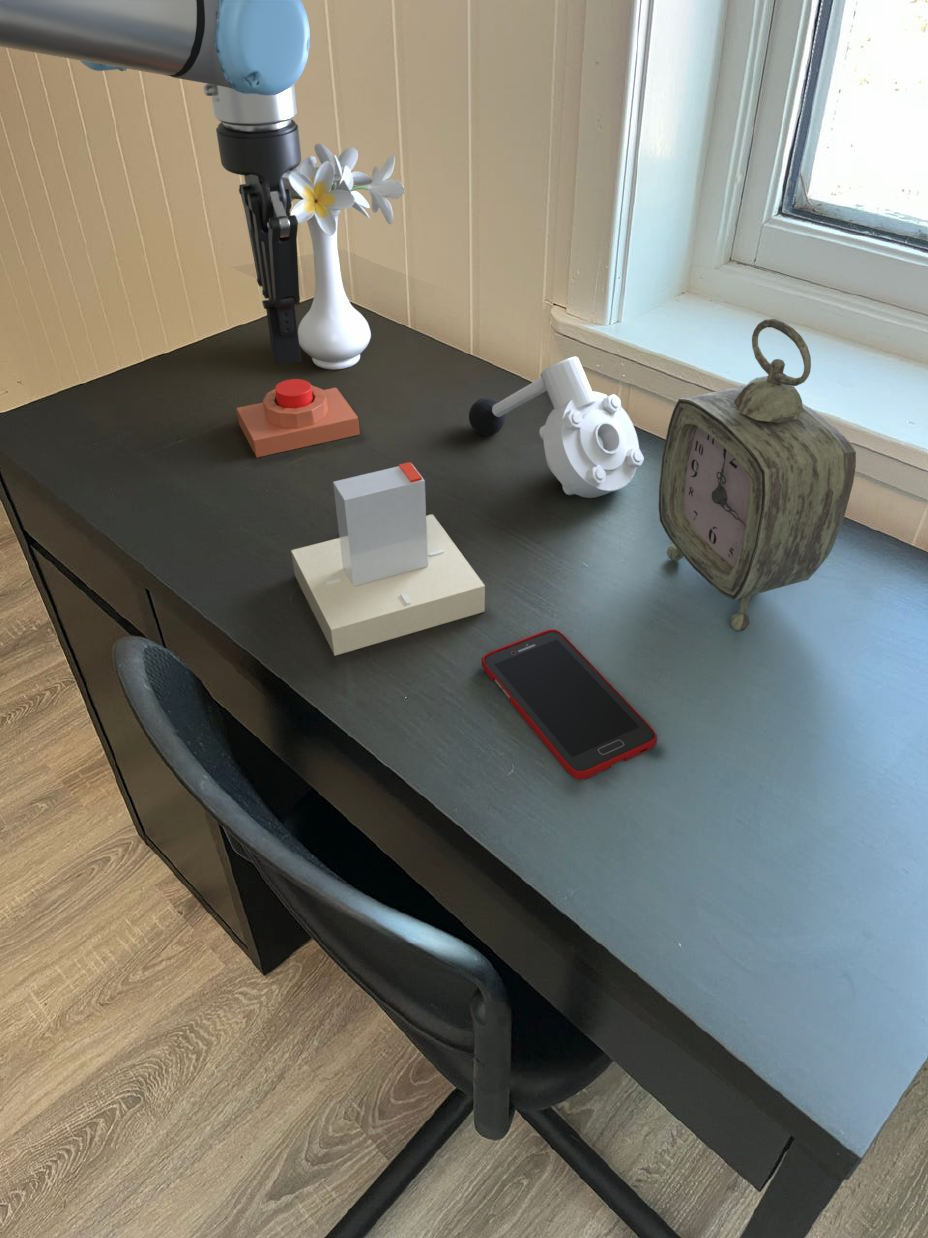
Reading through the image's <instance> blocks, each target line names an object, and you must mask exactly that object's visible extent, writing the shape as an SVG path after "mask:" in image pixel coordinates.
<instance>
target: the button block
mask: <svg viewBox="0 0 928 1238" xmlns="http://www.w3.org/2000/svg"><path fill="white" fill-rule="evenodd" d="M311 388H312V396H313V401H312V403H311V404H309V405H307V406H305V407H300V408H283V407H280V406H279V405H278V404H277V398H276V392H275V388H273V389H272V390H270V391H268V392H267V393H266V394H265V396H264V398H263V400H262V402H259V403H254V404H248V405H245V406H239V407H236V414H237V419H238V425H239V427H240V429H241V431H242V433H243V435H244V437H245V438H246V440H247V442H248V444H249V446H250V448H251V450H252V452H253V454H254V455H255V457H256V458H261V457H266V456H270V455H275V454H279V453H284V452H289V451H292V450H296V449H297V450H298V449H301V448H306V447H311V446H315V445H320V444H324V443H329V442H333V441H337V440H338V441H339V440H341V439H347V438H352V437H355V436H360V434H361V433H360V424H359V417H358V415H357V414H356V413H355V411H354V410H353V409H352V407H351V406H350V404H349V403H348V402H347V400H346V398H344V396H343V394H342V393H341V392H340V391H339V389H338V388H337V387H331V388H327V389H322V388H320V387H317V386H314V385H312V384H311Z"/></svg>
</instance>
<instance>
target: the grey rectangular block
mask: <svg viewBox="0 0 928 1238" xmlns="http://www.w3.org/2000/svg"><path fill="white" fill-rule="evenodd" d="M425 482H426V480H425V479H424V477H423V476H422V475H421V473H420V472H419V471H418V469H417V468H416V467H415V466H414V464H413V463H412V462H411V461H408V462H404V463H399V464H398V466H394V467H389V468H385V469H381V470H376V471H372V472H368V473H364V474H360V475H356V476H352V477H347V478H343V479H338V480H335V481H332V484H333V494H334V502H335V509H336V510H335V511H336V521H337V526H338V527H337V529H338V535H339V536H338V538H340V546H341V555H342V563H343V568H344V570H345V572H346V574H347V575H348V577H349V579H350V581H351V583H352V584H353V586H358V585H361V584H365V583H369V582H372V581H376V580H380V579H383V578H387V577H391V576H394V575H398V574H402V573H405V572H409V571H413V570H416V569H420V568H423V567H427V566H428V550H427V525H426V516H427V506H426V505H427V504H426V501H427V500H426V483H425Z"/></svg>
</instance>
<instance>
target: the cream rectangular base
mask: <svg viewBox="0 0 928 1238" xmlns="http://www.w3.org/2000/svg"><path fill="white" fill-rule="evenodd" d="M426 525H427V550H428V566H427V567H423V568H420V569H416V570H413V571H409V572H405V573H402V574H398V575H394V576H391V577H387V578H383V579H380V580H376V581H372V582H369V583H365V584H361V585H358V586H353V584H352V583H351V581H350V579H349V577H348V575H347V574H346V572H345V570H344V568H343V563H342V555H341V546H340V537H337V538H333V539H330V540H329V539H328V540H326V541H322V542H318V543H314V544H310V545H305V546H303V547H298V548H293V549H291V550H290V554H291V559H292V566H293V572H294V577H295V579H296V581H297V583H298V585H299V587H300V589H301V591H302V593H303V595H304V597H305V599H306V602H307V603H308V605H309V607H310V609H311V611H312V613H313V615H314V617H315V619H316V621H317V624H318V626H319V627H320V629H321V631H322V633H323V635H324V637H325V639H326V641H327V644H328V645H329V647H330V649H331V652H332V653H333V655H334V656H335V657H336V656H340V655H342V654H346V653H350V652H353V651H356V650H359V649H363V648H366V647H370V646H373V645H376V644H380V643H384V642H386V641H390V640H393V639H397V638H401V637H403V636H407V635H411V634H414V633H417V632H420V631H424V630H427V629H431V628H434V627H438V626H440V625H445V624H448V623H450V622H454V621H458V620H462V619H465V618H468V617H471V616H475V615H478V614H481V613H485V611H486V610H485V609H486V585H485V583H484V582H483V581H482V579H481V578H480V576H479V575H478V574H477V573H476V572H475V570H474V568H473V567H472V565H471V564H470V563H469V562H468V560H467V558H465V557H464V555H463V553H462V552H461V551H460V550H459V548H458V547H457V545H456V544H455V543H454V541H453V539H451V537H450V536H449V534H448V533H447V532H446V530H445V528H444V527H443V526H442V525H441V524H440V522H439V520H438V519H437V518H436V516H435V515H434V513H431V514H428V515H427V514H426Z"/></svg>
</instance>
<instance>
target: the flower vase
mask: <svg viewBox="0 0 928 1238" xmlns="http://www.w3.org/2000/svg"><path fill="white" fill-rule="evenodd" d="M314 153H315V155H316V156H315V155H310V156H307V157H306V158H304V159H303V160H301V162H300V164H299V166H298V167H296V168H295V169H293V170H291V171H290V170H289V171H287V172H286V173H284V175H283V176H282V177H283V178H282V180H283V182H284V187H285V189H289V191H290V196H291V204H293V202H294V201H295V200H299V201H297V202H296V204H295V205H293V206H292V207H291V210H290V216H291V215H295V216H296V218H297V220H298V224H302V223H305V222H306V223H307V226H308V231H309V235H310V239H311V244H312V250H313V254H312V255H313V266H314V295H313V298H312V303H311V306H310V308H309V310H308V311H307V312H306V314H304V316H303V318H302V319H301V320H300V322H299V324H298V325H297V330H298V339H299V347H300V349H301V350H302V351H303V352H304V353H305V354H306V355H308V356H309V357H311V360H312V362H313V364H314V365H316V366H317V367H318V368H321V369H324V370H325V369H326V370H343V369H349V368H351V367H353V366H355V365H356V364H357V363H358V362H359V361H360V359H361V354H362V353H363V352H364V351H365V350H366V349H367V347H368V345H369V343H370V342H371V339H372V333H371V328H370V325H369V322H368V321H367V319H366V318H365V317H364V316H363V314H362V313H361V312H360V311H359V310H358V309H356V308H355V307H354V306H353V305H352V304H351V302H350V300H349V298H348V296H347V294H346V290H345V287H344V283H343V279H342V273H341V266H340V258H339V257H340V256H339V249H338V225H339V224H338V223H339V222H338V221H339V217H340V214H341V212H342V211H341V210H346V209H349V208H353V209H355V210H356V211H358V212H360V213H361V214H362V215H364V216H365V217H366V218H368V219H369V220H371V217H370V215H369V214H368V212H367V211H366V209H370V208H371V210H372V213H374V214H376V213H378V212H379V210H380V211H381V214H382V215H383V217H384V219H385V221H386V223H388V224H389V225H392V224H393V221H394V211H393V207H392V204H391V203H390V201H389V200H388V199H391V200H397V199H399V198H401V197H402V196H403V195H404V193H405V185H404V184H403V183H402V181H400V180H397V179H389V178H391V176H392V174H393V171H394V168H395V162H396V158H395V155H394V154H390V155H388V157H387V159H386V160H385V162H384V163H383V165H382V166H381V169H380V167H379V166H377V165H375V166H374V167H373V169H372V172H371V176H369V175H368V174H366V173H364V172H362V171H353V170H354V168H355V166H356V164H357V162H358V159H359V152H358V149H356V148H355V147H347V148H345V149H344V150H342V151H341V153H340V154H339V155H338V157H337V155H336V154H335V153H334V155H333V153H332V152H331V150H330V149H328V147H326V146H325V145H323V144H322V143H315V145H314ZM316 157H317V158H316ZM317 159H318V160H319V162H320V165H319V166H317V163H318V161H317ZM356 190H365V191H369V193H370V198H371V199H370V200H371V201H370V202H371V207H370V204H369V202H368V201H367V199H366V198H365V196H363V195H362V194H361V193H360V192H359V191H356ZM365 208H366V209H365Z"/></svg>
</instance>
